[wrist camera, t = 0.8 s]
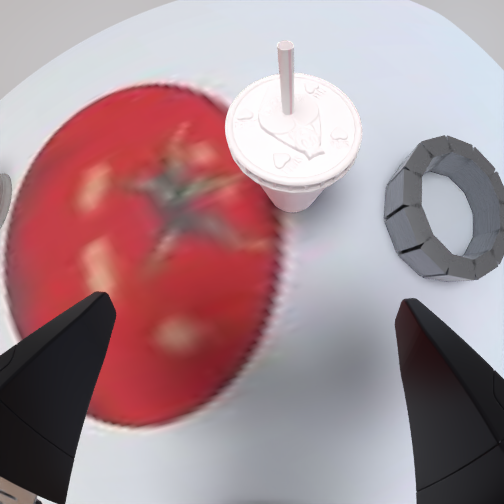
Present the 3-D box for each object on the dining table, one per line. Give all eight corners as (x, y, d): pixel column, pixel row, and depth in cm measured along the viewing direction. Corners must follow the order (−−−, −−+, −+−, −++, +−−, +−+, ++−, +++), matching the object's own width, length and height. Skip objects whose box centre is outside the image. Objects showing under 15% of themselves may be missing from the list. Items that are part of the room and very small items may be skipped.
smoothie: (308, 139, 22) (319, -5, 8) (349, 207, 21) (428, 97, 7) (236, 173, 22) (173, 43, 8) (274, 245, 21) (247, 172, 7)
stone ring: (497, 253, 18) (524, 248, 14) (412, 300, 19) (436, 303, 15) (454, 147, 20) (474, 127, 16) (364, 175, 21) (377, 153, 17)
